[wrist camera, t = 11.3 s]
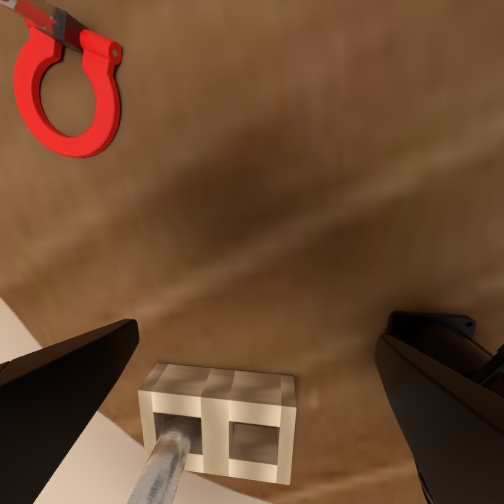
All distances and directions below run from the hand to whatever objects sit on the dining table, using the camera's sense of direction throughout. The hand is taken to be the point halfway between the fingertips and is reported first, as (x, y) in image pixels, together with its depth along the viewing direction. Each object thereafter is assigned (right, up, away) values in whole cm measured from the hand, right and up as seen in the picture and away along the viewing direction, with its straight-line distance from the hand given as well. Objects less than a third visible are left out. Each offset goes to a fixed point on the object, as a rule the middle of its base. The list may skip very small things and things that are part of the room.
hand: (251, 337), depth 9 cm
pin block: (-3, -13, +16) cm, 21 cm away
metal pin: (-6, -13, +16) cm, 22 cm away
